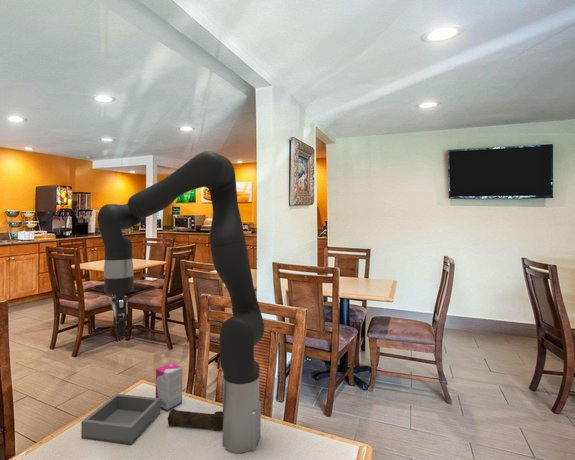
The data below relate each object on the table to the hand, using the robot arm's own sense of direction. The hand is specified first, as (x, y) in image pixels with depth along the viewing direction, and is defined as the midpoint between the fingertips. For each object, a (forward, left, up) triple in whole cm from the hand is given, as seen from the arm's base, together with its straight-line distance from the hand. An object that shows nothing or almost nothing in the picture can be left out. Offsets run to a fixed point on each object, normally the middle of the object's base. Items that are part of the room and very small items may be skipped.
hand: (119, 331), depth 97 cm
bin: (-4, +3, -25) cm, 25 cm away
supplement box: (-11, -9, -25) cm, 28 cm away
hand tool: (-25, -1, -25) cm, 35 cm away
